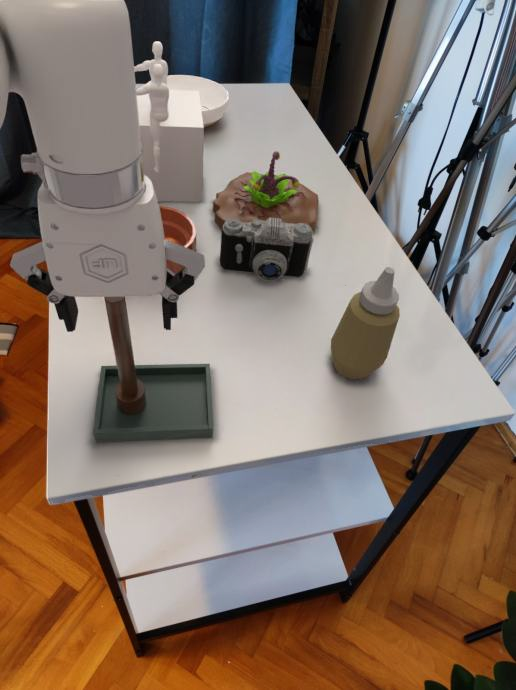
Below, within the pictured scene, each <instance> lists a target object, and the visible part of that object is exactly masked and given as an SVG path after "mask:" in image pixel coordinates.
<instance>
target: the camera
mask: <svg viewBox="0 0 516 690" xmlns="http://www.w3.org/2000/svg"><path fill="white" fill-rule="evenodd" d="M220 234H221V235H220V252H219V262H220V267H221V269H222V270H224V271H231V272H238V273H239V272H240V273H248V274H255V275H256V276H258V277H259V278H260V279H261V280H263V281H267V282H274V281H276V280H279V279H280V278H281V277H286V278H287V277H289V278H298V279H300V278H302V277H303V275H304V273H305V272H307V268H308V265H309V264H308V263H309V260H310V255H311V252H312V248H313V247H312V246H313V242H314V235H313V234H314V231H312V229H311V227H310V226H309V225H308V224H306V223H298V224H292V223H283V222H282V220H281V219H280V218H271V217H270V218H268V219H267V220H266V221H264V220H258V219H254V220H253V221H252V222H249V223H243V222H241V221H239V220H237V219H228V220H226V221H225V223H224V225H223V226H222V229H221V233H220Z"/></svg>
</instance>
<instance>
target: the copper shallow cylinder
mask: <svg viewBox="0 0 516 690" xmlns="http://www.w3.org/2000/svg"><path fill="white" fill-rule="evenodd" d="M159 208H160V213H161V218H162V224H163V230H164V237H165V239H166V238H172V239H174V240H175V241H176V242H177V243H178V245H181V246H183V247H186V248H188V249H190V250H193V251H195V252H197V226H196V225H195V223H194V221H193V219H192V218H191V217H190V216H188V215H187V214H186V213H185V212H182V211H181V210H179V209H177V208H173V207H169V206H165V205H159ZM166 266H167V268H168V269H169V270H171V271H172V272H173V273H174V274H177V273H178V272H179V271H180V270H182V269H183V268H185V266H182V265H180V264H177V263H175V262H172V261H169V260H167V259H166Z"/></svg>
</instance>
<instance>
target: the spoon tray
mask: <svg viewBox="0 0 516 690" xmlns="http://www.w3.org/2000/svg"><path fill="white" fill-rule="evenodd" d="M210 365H211V364H210V363H173V364H169V363H168V364H167V363H166V364H135V370H136V377H137V380H139V381H141V382H142V383H143V385H144V387H145V394H146V406H145V408H144V410H143V411H141V412H140V413H138V414H136V415H126V414H123V413H122V412H121V411H120V410H119V409H118V405H117V401H116V396H115V388H116V386H117V385H118V383H120V380H119V375H118V369H117V365H101V366H100V373H99V381H98V389H97V398H96V403H95V404H96V406H95V413H94V421H93V427H92V428H93V430H92V435H93V438H94V442H95V443H109V442H110V443H111V442H133V441H156V440H157V441H158V440H180V439H204V438H213V437H214V417H213V403H212V402H213V398H212V378H211V366H210Z"/></svg>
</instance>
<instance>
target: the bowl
mask: <svg viewBox="0 0 516 690" xmlns="http://www.w3.org/2000/svg"><path fill="white" fill-rule="evenodd" d="M146 84H151V80H149V81H148V82H147V83H146ZM167 86H168V89H169V90H184V91H199V97H200V104H201V111H202V118H203V126H204V128H207V127H208V126H211V125H213V124H215V123H216V122H217V121H219V120H220V119H221V118H223V116H224V115H225V113H226V111H227V108H228V105H229V99H230V94H229V92H228V90H227V89H226V87H224V86H223V85H221V84H220V83H218V82H216V81H213V80H212V79H208V78H205V77H201V76H197V75H196V76H195V75H187V74H170V75H169V74H168V75H167ZM202 106H205V107H207V108H208V109H209V110H208V109H206V108H204V107H202Z"/></svg>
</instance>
